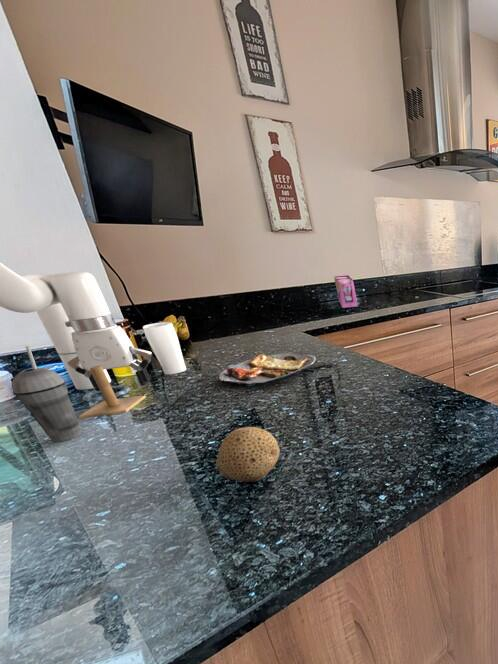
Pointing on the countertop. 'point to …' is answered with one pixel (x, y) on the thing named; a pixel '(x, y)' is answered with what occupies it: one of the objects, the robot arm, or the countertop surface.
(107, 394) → the ring stand
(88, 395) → the ring
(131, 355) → the robot arm
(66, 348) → the cylindrical container
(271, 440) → the natural sponge
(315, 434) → the countertop surface
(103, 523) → the countertop surface
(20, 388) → the beverage cup
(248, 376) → the food plate
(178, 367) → the drinking glass
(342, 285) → the gum box
